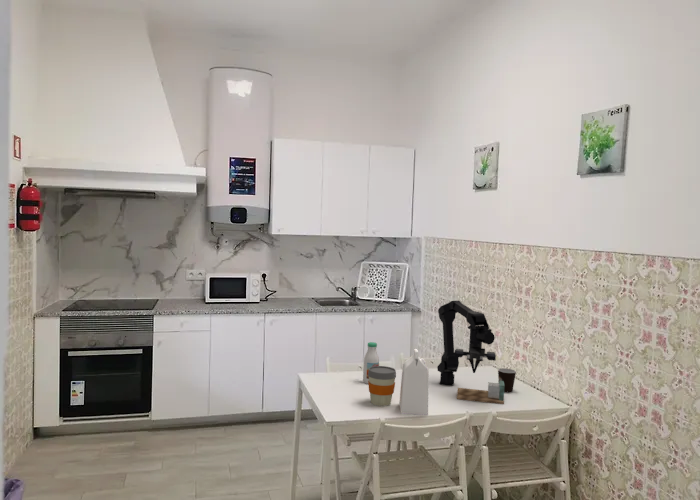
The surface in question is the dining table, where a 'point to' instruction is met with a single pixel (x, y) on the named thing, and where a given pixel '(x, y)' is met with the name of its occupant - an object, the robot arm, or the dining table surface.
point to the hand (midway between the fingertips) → (474, 372)
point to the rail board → (481, 399)
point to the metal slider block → (493, 390)
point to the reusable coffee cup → (381, 384)
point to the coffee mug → (507, 378)
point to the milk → (414, 386)
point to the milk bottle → (370, 360)
